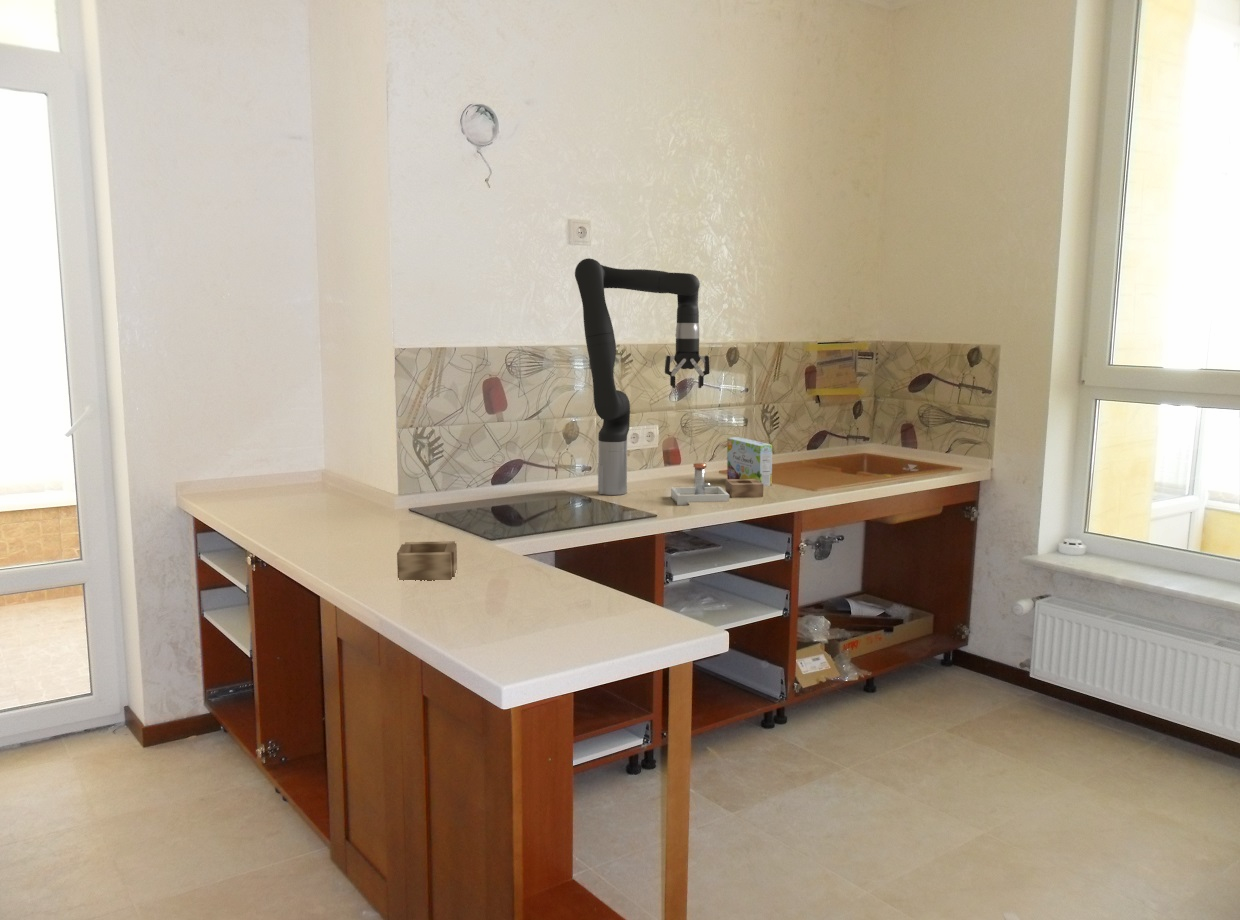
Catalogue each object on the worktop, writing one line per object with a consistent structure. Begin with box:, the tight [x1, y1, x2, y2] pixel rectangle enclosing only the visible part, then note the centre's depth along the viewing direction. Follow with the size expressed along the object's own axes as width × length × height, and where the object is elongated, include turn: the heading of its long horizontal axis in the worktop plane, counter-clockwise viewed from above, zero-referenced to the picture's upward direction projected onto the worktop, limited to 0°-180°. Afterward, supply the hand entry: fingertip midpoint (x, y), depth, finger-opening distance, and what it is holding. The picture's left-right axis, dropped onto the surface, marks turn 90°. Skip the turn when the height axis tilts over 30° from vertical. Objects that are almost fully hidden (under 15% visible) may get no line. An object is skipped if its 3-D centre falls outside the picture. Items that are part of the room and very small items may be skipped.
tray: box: [670, 486, 730, 506], centre depth 300 cm, size 16×14×3 cm
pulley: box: [705, 482, 718, 487], centre depth 310 cm, size 7×7×4 cm
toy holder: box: [396, 540, 458, 581], centre depth 210 cm, size 12×12×7 cm
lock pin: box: [692, 462, 707, 495], centre depth 299 cm, size 4×4×11 cm
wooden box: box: [724, 478, 764, 499], centre depth 305 cm, size 10×10×5 cm
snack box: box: [726, 436, 773, 487], centre depth 329 cm, size 21×6×15 cm, turn 25°
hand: (686, 387), depth 310 cm, fingers open, 8 cm apart
